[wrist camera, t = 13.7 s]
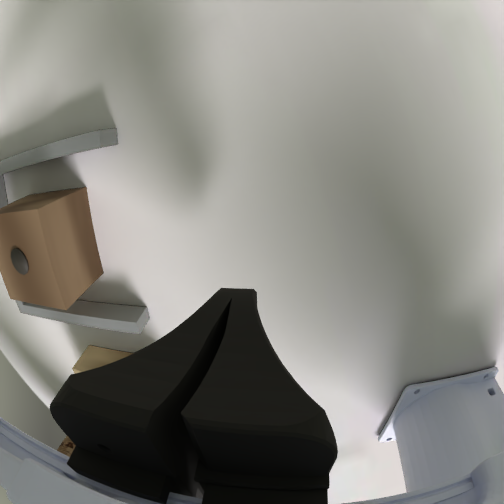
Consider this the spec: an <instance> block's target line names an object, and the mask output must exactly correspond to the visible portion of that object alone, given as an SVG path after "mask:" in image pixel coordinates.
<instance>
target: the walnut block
mask: <svg viewBox="0 0 504 504" xmlns="http://www.w3.org/2000/svg"><path fill="white" fill-rule="evenodd" d="M0 271H1V274H2V277H3V280H4V283H5V286H6V288H7V291H8V293H9V296H10V298H11V299H14V300H18V301H22V302H27V303H32V304H37V305H41V306H47V307H52V308H57V309H62V310H67V309H68V308H69V307H70V306H71V305H72V304H73V303H74V302H75V301H76V300H77V299H78V298H79V297H80V296H81V295H82V294H83V293H84V292H85V291H86V290H87V289H88V288H89V287H90V286H91V285H92V284H93V283H94V282H95V281H96V280H97V279H98V278H99V277H100V276H101V275H102V274H103V269H102V265H101V261H100V256H99V252H98V248H97V243H96V239H95V234H94V229H93V224H92V218H91V213H90V207H89V201H88V195H87V188H86V187H83V188H75V189H67V190H60V191H53V192H46V193H39V194H33V195H28V196H26V197H24V198H22V199H19V200H17V201H15V202H13V203H10V204H8V205H6V206H4V207H2V208H0Z"/></svg>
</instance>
